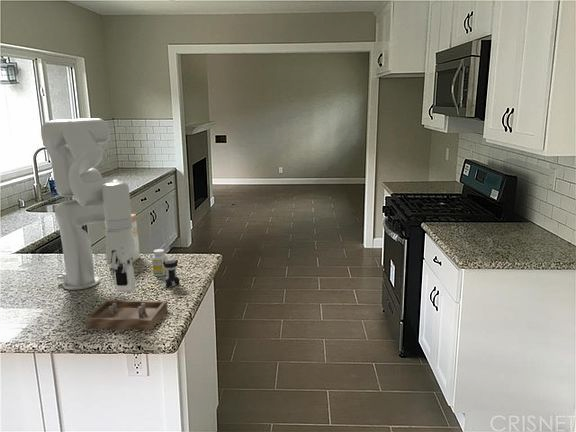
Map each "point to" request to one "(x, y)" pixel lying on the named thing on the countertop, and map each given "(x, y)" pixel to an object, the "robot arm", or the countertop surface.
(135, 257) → the coffeecake box
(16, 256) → the countertop surface
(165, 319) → the countertop surface
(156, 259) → the supplement bottle
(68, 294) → the countertop surface
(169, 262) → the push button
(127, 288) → the eye dropper bottle
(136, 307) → the pin tray
